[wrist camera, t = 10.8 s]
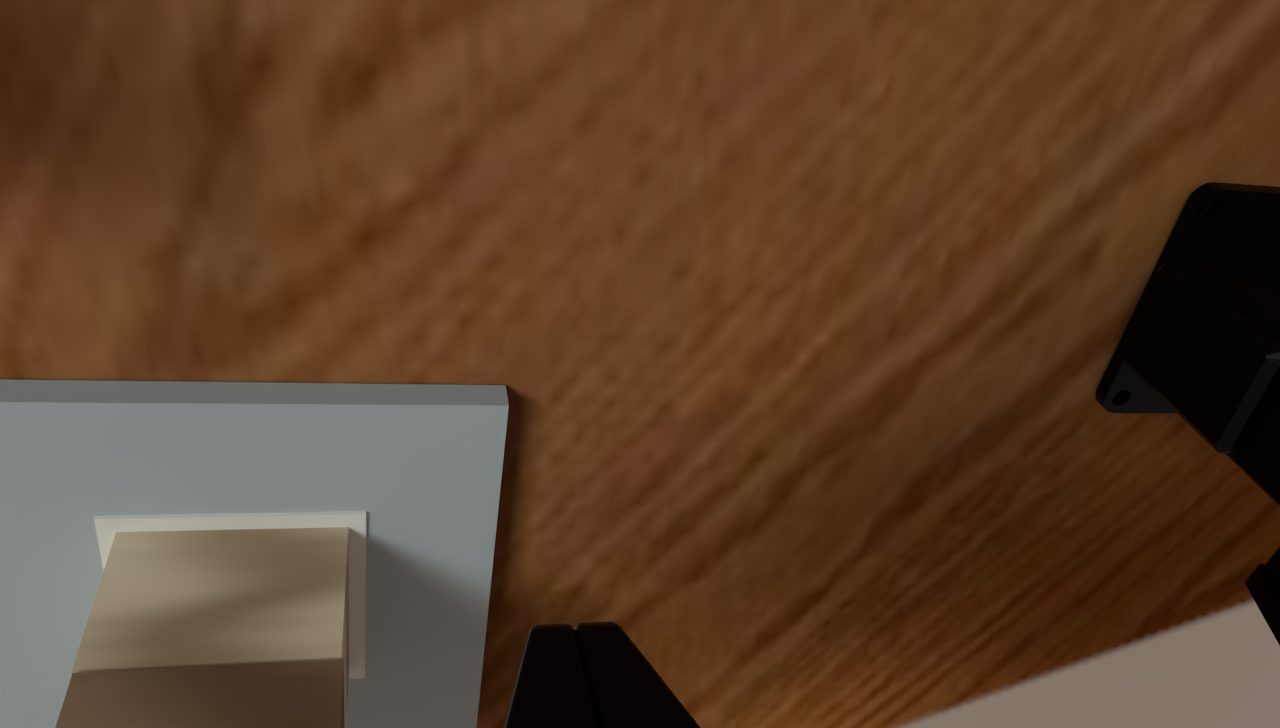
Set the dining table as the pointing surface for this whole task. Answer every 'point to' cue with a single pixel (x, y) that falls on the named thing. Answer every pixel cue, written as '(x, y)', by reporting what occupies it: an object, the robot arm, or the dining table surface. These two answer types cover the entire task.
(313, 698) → the walnut block
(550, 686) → the robot arm
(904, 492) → the dining table surface
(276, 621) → the maple block
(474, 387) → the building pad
